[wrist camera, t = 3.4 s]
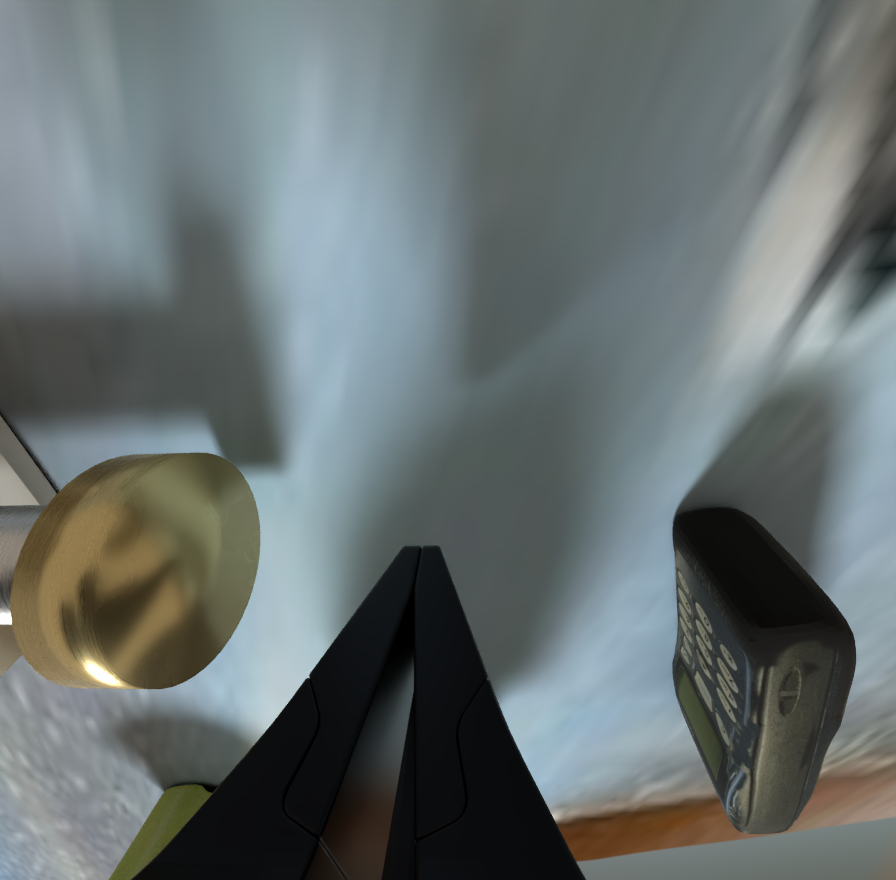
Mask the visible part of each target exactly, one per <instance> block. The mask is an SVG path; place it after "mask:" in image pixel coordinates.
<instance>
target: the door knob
mask: <svg viewBox="0 0 896 880" xmlns="http://www.w3.org/2000/svg"><path fill="white" fill-rule="evenodd" d="M259 554H260V524H259V516H258V511H257V506H256V502H255V499H254V496H253V493H252V491H251V489H250V487H249V484H248V483H247V481H246V479H245V478H244V476H243V475H242V474H241V472H240V471H239V470H238V469H237V468H236V467H235V466H234V465H233V464H232V463H230V462H229V461H227V460H226V459H224V458H222V457H220V456H217V455H214V454H209V453H167V454H133V455H126V456H120V457H116V458H113V459H109V460H106V461H104V462H102V463H100V464H97V465H95V466H93V467H91V468H90V469H88V470H86V471H85V472H83V473H81V474H80V475H78V476H77V477H76V478H75V479H73V480H72V481H71V482H69V483H68V484H67V485H66V486H65V487H64V488H63V489H62V490H61V491H60V492H59V493H58V494H57V495H56V496H55V497H54V498H53V499H52V500H51V501H50V503H49V504H48V505H11V506H0V625H12V628H13V631H14V634H15V638H16V641H17V644H18V646H19V648H20V650H21V652H22V654H23V656H24V657H25V659H26V660H27V661H28V663H29V664H30V665H31V666H32V667H33V668H34V670H35V671H36V672H38V673H39V674H41V675H42V676H43V677H45V678H46V679H47V680H50V681H52V682H54V683H56V684H59V685H62V686H67V687H71V688H113V689H164V688H169V687H173V686H176V685H178V684H181V683H183V682H185V681H187V680H188V679H190V678H192V677H194V676H195V675H196V674H198V673H199V672H200V671H202V670H203V669H204V668H205V667H206V666H207V665H208V664H209V663H211V662H212V661H213V660H214V659H215V657H216V656H217V655H218V654H219V653H220V651H221V650H222V649H223V648H224V646H225V645H226V644H227V642H228V641H229V639H230V638H231V636H232V635H233V633H234V631H235V630H236V628H237V626H238V624H239V622H240V620H241V618H242V616H243V614H244V612H245V609H246V607H247V604H248V602H249V599H250V596H251V593H252V590H253V586H254V582H255V578H256V574H257V569H258V562H259Z"/></svg>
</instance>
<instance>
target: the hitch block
mask: <svg viewBox="0 0 896 880" xmlns="http://www.w3.org/2000/svg"><path fill="white" fill-rule="evenodd" d="M56 495H57V493H56V492H55V490H54V489H53V488H52V486H51V485H50V484H49V482H48V481H47V479H46V478H45V477H44V475H43V474H42V472H41V471H40V470H39V468H38V467H37V465H36V464H35V463H34V461H33V460H32V459H31V457H30V456H29V454H28V453H27V452H26V450H25V449H24V447H23V446H22V445H21V443H20V442H19V440H18V439H17V438H16V436H15V435H14V434H13V432H12V431H11V429H10V428H9V427H8V425H7V424H6V422H5V421H4V420H3V418H2V417H1V415H0V506H11V505H48V504H49V503H50V501H51V500H52V499H53V498H54V497H55V496H56ZM21 655H22V652H21V650H20V648H19V646H18V644H17V641H16V638H15V634H14V631H13V628H12V625H0V676H1V675H2V674H3V673H4V672H5V671H6V670H7V669H8V668H9V667H10V666H11V665H12V664H13V663H14V662H15V661H16V660H17V659H18V658H19V657H20V656H21Z"/></svg>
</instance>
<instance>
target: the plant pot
mask: <svg viewBox="0 0 896 880" xmlns="http://www.w3.org/2000/svg"><path fill="white" fill-rule="evenodd" d="M211 794H212V793H210V792H208V791H207V790H205V788H204V787H203V786H201V785H198V784H189V785H181V786H175V787H171V788H169V789H167V790H166V791H165V792H164V793H163V795H162V796H161V798H160V799H159V801H158V802H157V804H156V805H155V807H154V809H153V810H152V812H151V813H150V815H149V817H148V818H147V820H146V821H145V823H144V825H143V826H142V828H141V829H140V831H139V833H138V834H137V836H136V837H135V839H134V841H133V842H132V844H131V845H130V847H129V849H128V850H127V852H126V853H125V855H124V856H123V858H122V860H121V861H120V863H119V864H118V866H117V867H116V869H115V871H114V872H113V874H112V875H111V877H110V878H109V880H130V879H131V878H133V877H134V876H135V875H136V874H137V873H138V872H139V871H140V870H142V869H143V868H144V867H145V866H146V865H147V864H148V863H149V862H150V861H151V860H152V859H153V858H154V857H155V856H156V855H157V854H158V853H159V852H160V851H161V850H162V849H163V848H164V847H165V846H166V845H167V844H168V843H169V842H170V841H171V840H172V839H173V837H174V836H175V835H176V834H177V833H178V832H179V831H180V830H181V828H182V827H183V826H184V825H185V824H186V823H187V822H188V820H189V819H190V818H191V817H192V816H193V815H194V814H195V812H196V811H197V810H198V809H199V808H200V807H201V806H202V804H203V803H204V802H205V801H206V800H207V799H208V798H209V796H210V795H211Z"/></svg>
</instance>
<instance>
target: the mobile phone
mask: <svg viewBox="0 0 896 880" xmlns="http://www.w3.org/2000/svg"><path fill="white" fill-rule="evenodd" d="M673 546H674V551H675V568H676V590H677V611H678V635H677V644H676V652H675V659H674V662H673V680H674V686H675V691H676V696H677V699H678V702H679V705H680V708H681V711H682V713H683V716H684V718H685V721H686V723H687V725H688V728H689V730H690V733H691V735H692V737H693V740H694V742H695V744H696V747H697V749H698V751H699V754H700V756H701V758H702V761H703V763H704V765H705V767H706V770H707V772H708V774H709V777H710V779H711V781H712V784H713V786H714V788H715V790H716V793H717V795H718V797H719V799H720V802H721V804H722V806H723V808H724V810H725V813H726V814H727V816H728V818H729V820H730V822H731V823H732V825H733V826H734V827H735V828H736V829H737V830H738V831H740V832H742V833H748V834H771V833H780V832H783V831H786V830H788V829H789V828H790V827H791V826H792V825H793V823H794V821H795V820H797V818H798V817H799V815H800V813H801V812H802V810H803V809H804V807H805V806H806V804H807V803H808V801H809V800H810V798H811V796H812V794H813V792H814V790H815V788H816V784H817V781H818V778H819V774H820V771H821V768H822V764H823V761H824V757H825V755H826V752H827V750H828V748H829V745H830V743H831V741H832V739H833V738H834V736H835V734H836V733H837V731H838V729H839V727H840V725H841V722H842V718H843V715H844V712H845V707H846V703H847V699H848V695H849V692H850V688H851V685H852V681H853V677H854V672H855V666H856V647H855V640H854V636H853V633H852V631H851V628H850V627H849V625H848V623H847V621H846V619H845V618H844V617H843V615H842V614H841V612H840V611H839V610H838V608H837V607H836V606H835V604H834V603H833V602H832V601H831V599H830V598H829V597H828V596H827V595H826V594H825V593H824V591H823V590H822V589H821V588H820V587H819V586H818V585H817V583H816V582H815V581H814V580H813V579H812V578H811V577H810V576H809V574H808V573H807V572H806V571H805V570H804V569H803V568H802V567H801V566H800V565H799V563H798V562H797V561H796V560H795V559H794V558H793V557H792V556H791V555H790V554H789V553H788V552H787V551H786V550H785V549H784V548H783V547H782V546H781V545H780V544H779V543H778V542H777V541H776V540H775V539H774V537H773V536H772V535H771V534H770V533H769V532H768V531H767V530H766V529H765V528H764V527H763V526H762V525H761V524H760V523H758V522H757V521H756V520H755V519H754V518H752V517H751V516H749V515H747V514H745V513H743V512H741V511H739V510H737V509H731V508H708V509H701V510H696V511H691V512H687V513H683V514H681V515H679V516H678V518H677V520H676V523H675V525H674V527H673Z"/></svg>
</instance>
